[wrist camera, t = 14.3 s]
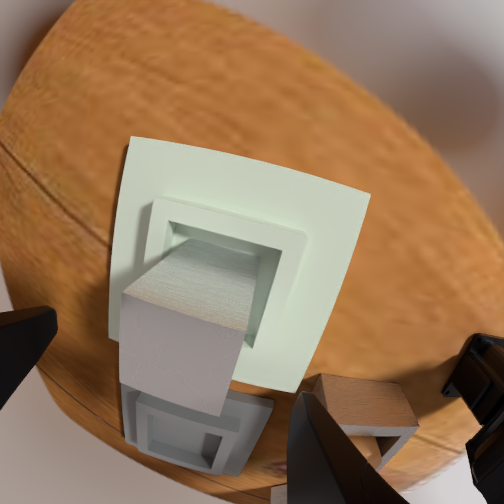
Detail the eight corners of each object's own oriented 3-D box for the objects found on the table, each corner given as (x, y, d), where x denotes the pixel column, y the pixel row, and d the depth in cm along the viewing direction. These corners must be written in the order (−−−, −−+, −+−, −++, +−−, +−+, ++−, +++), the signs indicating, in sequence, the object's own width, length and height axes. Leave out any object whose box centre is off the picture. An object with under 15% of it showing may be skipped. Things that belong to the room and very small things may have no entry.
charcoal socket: (273, 399, 20) (272, 422, 17) (239, 469, 23) (236, 487, 20) (125, 355, 20) (111, 373, 17) (129, 436, 23) (120, 452, 20)
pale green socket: (365, 193, 15) (380, 196, 13) (294, 384, 19) (296, 407, 17) (138, 137, 15) (118, 133, 13) (114, 331, 19) (98, 348, 17)
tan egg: (375, 406, 18) (391, 453, 13) (355, 433, 19) (365, 479, 14) (335, 401, 18) (345, 453, 13) (316, 430, 19) (321, 479, 14)
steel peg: (260, 257, 16) (246, 332, 8) (242, 318, 17) (219, 416, 9) (191, 238, 16) (121, 292, 8) (179, 300, 17) (119, 382, 9)
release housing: (399, 383, 19) (419, 426, 14) (360, 437, 20) (370, 478, 16) (320, 373, 19) (330, 423, 14) (289, 430, 20) (290, 476, 16)
